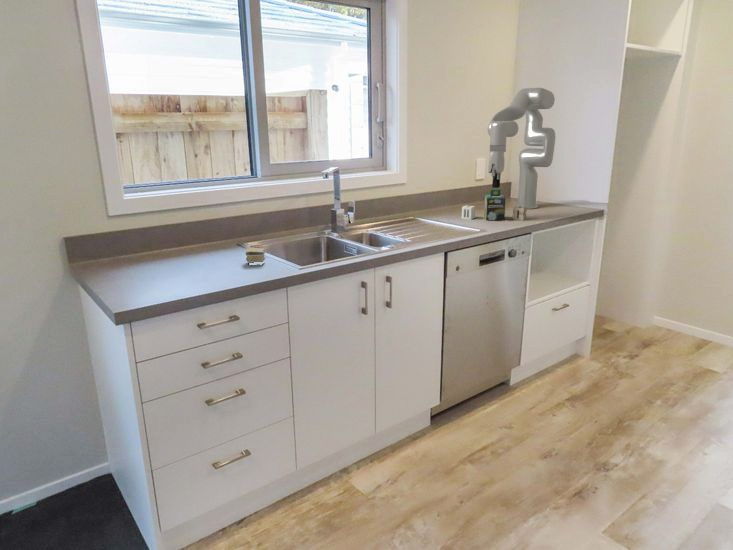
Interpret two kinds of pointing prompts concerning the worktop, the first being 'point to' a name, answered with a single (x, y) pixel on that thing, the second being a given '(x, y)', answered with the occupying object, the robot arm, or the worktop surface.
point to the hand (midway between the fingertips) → (495, 187)
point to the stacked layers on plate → (255, 255)
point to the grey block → (468, 212)
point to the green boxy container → (494, 206)
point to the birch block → (519, 213)
